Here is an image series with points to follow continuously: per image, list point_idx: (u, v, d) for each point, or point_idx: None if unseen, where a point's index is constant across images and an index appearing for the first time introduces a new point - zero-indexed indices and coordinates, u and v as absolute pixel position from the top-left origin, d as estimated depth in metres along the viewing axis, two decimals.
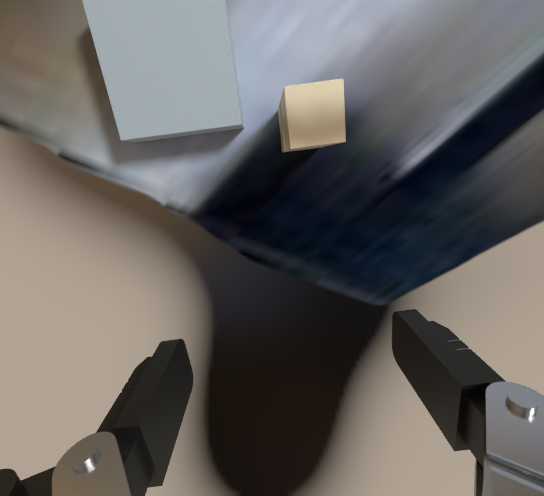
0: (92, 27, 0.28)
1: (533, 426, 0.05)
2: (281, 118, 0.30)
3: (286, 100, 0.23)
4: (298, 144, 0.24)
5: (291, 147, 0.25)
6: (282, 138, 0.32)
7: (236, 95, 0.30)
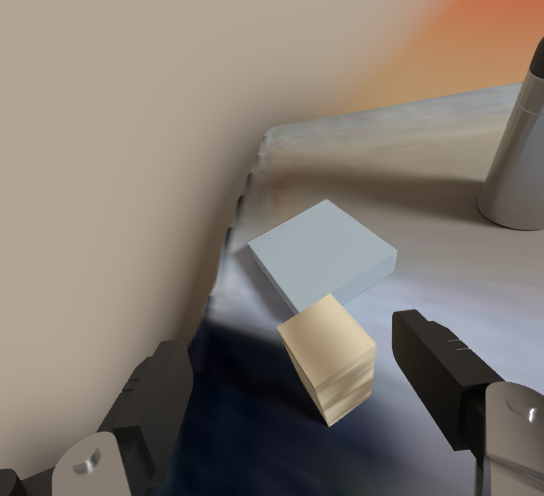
0: (310, 209, 0.41)
1: (533, 426, 0.05)
2: None
3: (319, 301, 0.21)
4: (284, 332, 0.20)
5: (278, 327, 0.21)
6: None
7: (321, 297, 0.31)
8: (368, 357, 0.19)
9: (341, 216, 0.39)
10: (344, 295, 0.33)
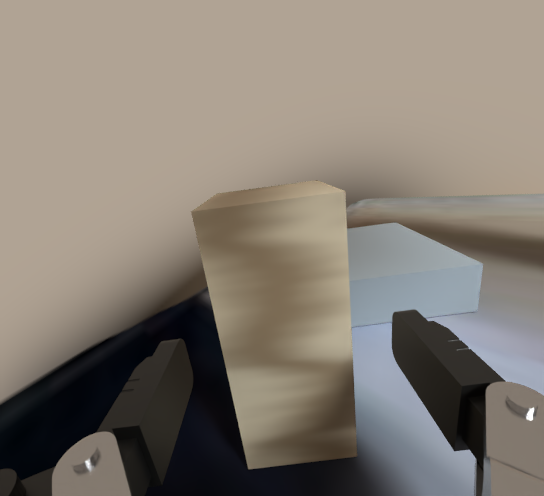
0: (370, 226, 0.33)
1: (533, 426, 0.05)
2: None
3: (295, 184, 0.13)
4: (220, 194, 0.13)
5: (218, 193, 0.13)
6: None
7: None
8: (328, 235, 0.09)
9: (407, 233, 0.29)
10: (375, 304, 0.21)
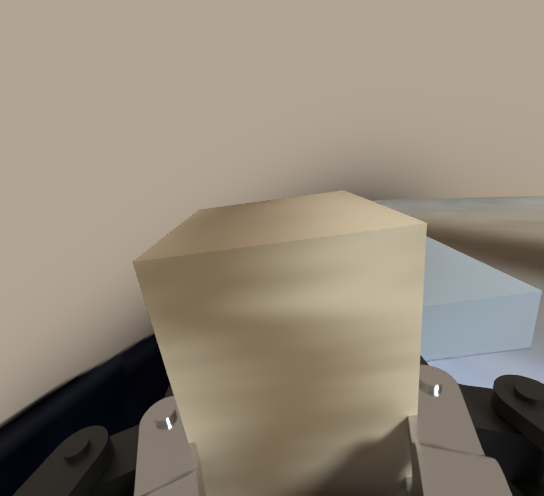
0: None
1: (433, 401, 0.06)
2: None
3: None
4: (203, 212, 0.09)
5: (201, 209, 0.09)
6: None
7: None
8: (388, 301, 0.05)
9: (432, 245, 0.25)
10: None
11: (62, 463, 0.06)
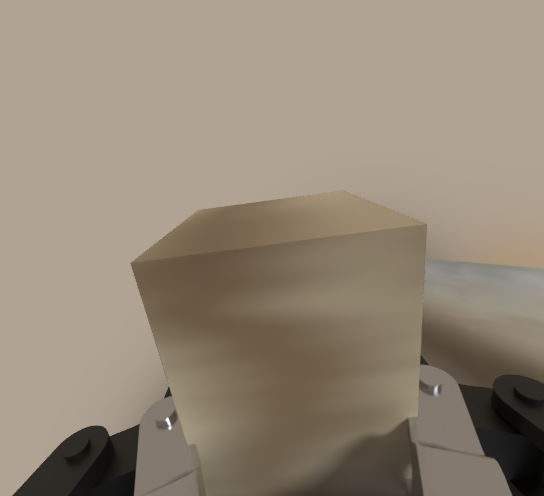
0: None
1: (433, 400, 0.06)
2: None
3: None
4: (202, 213, 0.09)
5: (200, 210, 0.09)
6: None
7: None
8: (388, 302, 0.05)
9: None
10: None
11: (62, 463, 0.06)
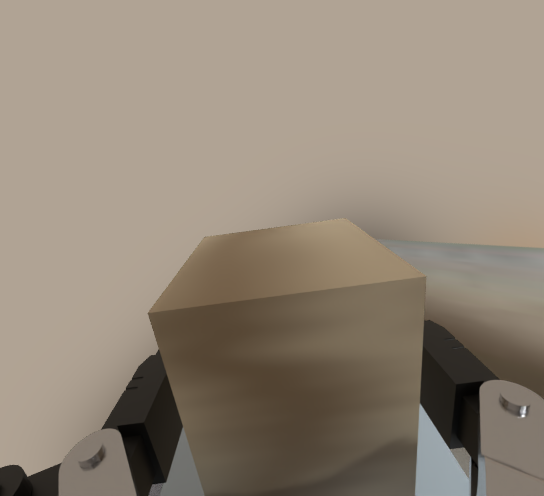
0: None
1: (525, 423, 0.05)
2: None
3: None
4: (209, 241, 0.09)
5: (206, 237, 0.10)
6: None
7: None
8: (390, 346, 0.05)
9: (431, 453, 0.13)
10: None
11: None
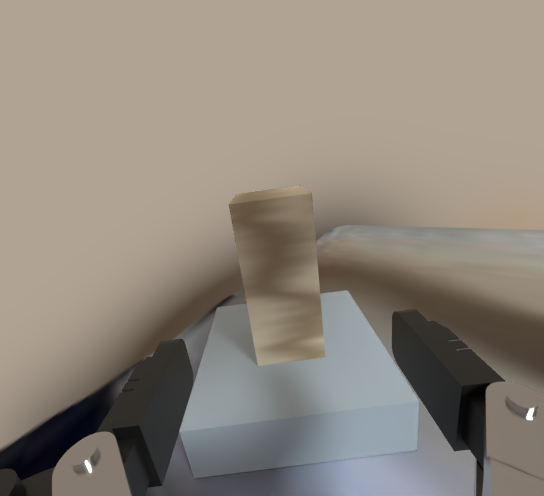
0: None
1: (533, 426, 0.05)
2: None
3: (286, 188, 0.21)
4: (239, 194, 0.20)
5: (237, 194, 0.21)
6: None
7: (229, 423, 0.16)
8: (303, 217, 0.17)
9: (353, 315, 0.25)
10: (286, 446, 0.17)
11: None
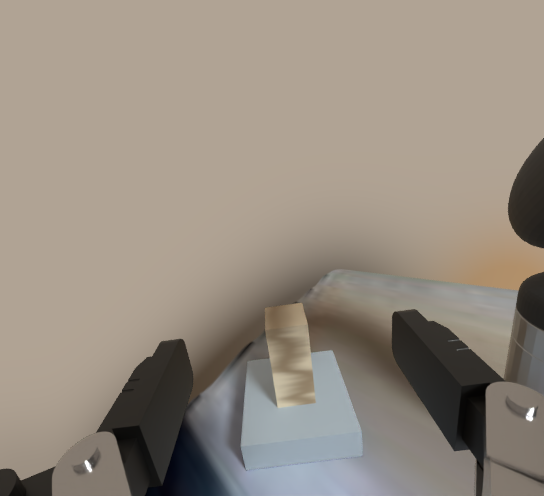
0: (313, 353, 0.44)
1: (533, 426, 0.05)
2: None
3: (294, 304, 0.37)
4: (267, 310, 0.36)
5: (265, 308, 0.37)
6: None
7: (266, 442, 0.31)
8: (303, 335, 0.32)
9: (333, 372, 0.40)
10: (294, 453, 0.32)
11: None
